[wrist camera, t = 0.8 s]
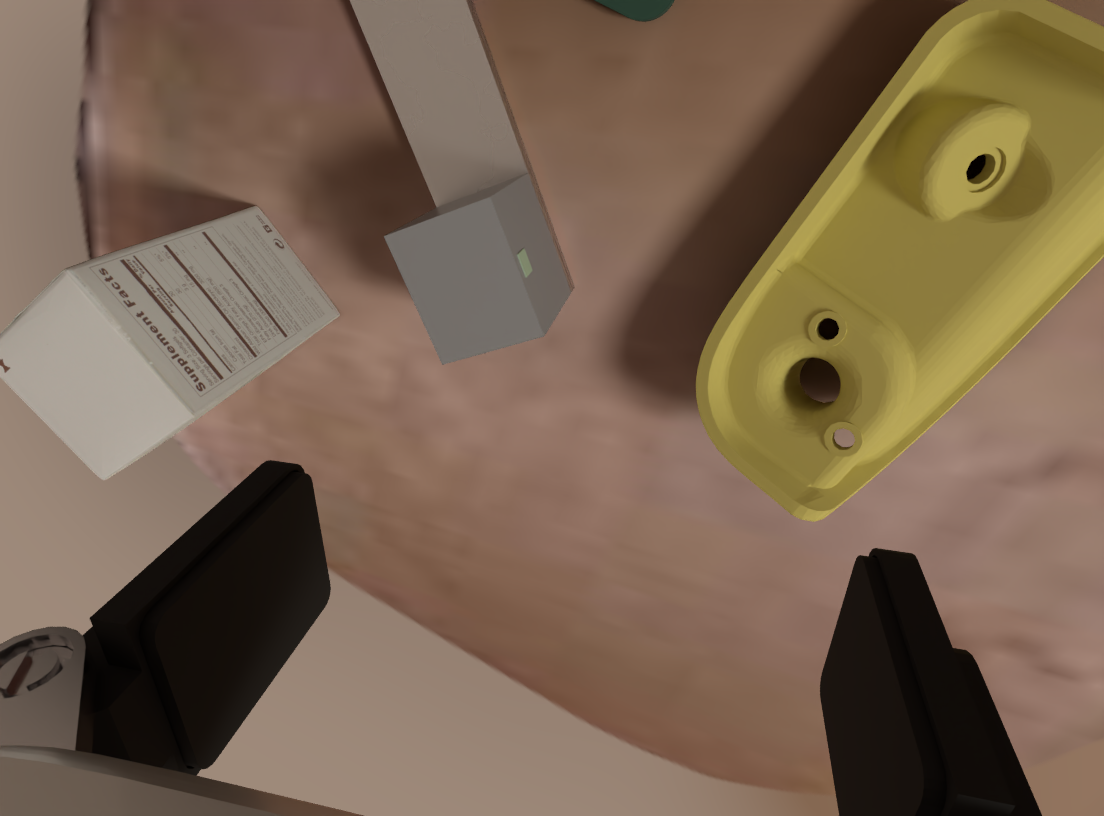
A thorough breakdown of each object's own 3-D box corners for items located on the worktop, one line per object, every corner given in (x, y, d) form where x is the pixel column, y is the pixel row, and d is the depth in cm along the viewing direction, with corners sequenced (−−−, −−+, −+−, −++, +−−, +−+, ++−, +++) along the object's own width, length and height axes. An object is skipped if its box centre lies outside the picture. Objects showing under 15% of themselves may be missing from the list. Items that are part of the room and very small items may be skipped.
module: (529, 172, 31) (491, 196, 26) (572, 292, 34) (545, 336, 28) (435, 207, 33) (382, 236, 28) (482, 319, 35) (441, 365, 30)
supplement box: (264, 371, 41) (98, 487, 30) (179, 268, 39) (-32, 352, 28) (347, 315, 38) (196, 421, 27) (259, 199, 36) (58, 264, 25)
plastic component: (973, -34, 23) (1276, 106, 20) (975, 36, 30) (1206, 152, 26) (656, 399, 32) (830, 549, 29) (708, 383, 38) (857, 505, 35)
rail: (338, -373, 25) (326, -385, 24) (574, 287, 34) (571, 292, 34) (235, -294, 26) (222, -304, 26) (487, 313, 36) (483, 318, 35)
